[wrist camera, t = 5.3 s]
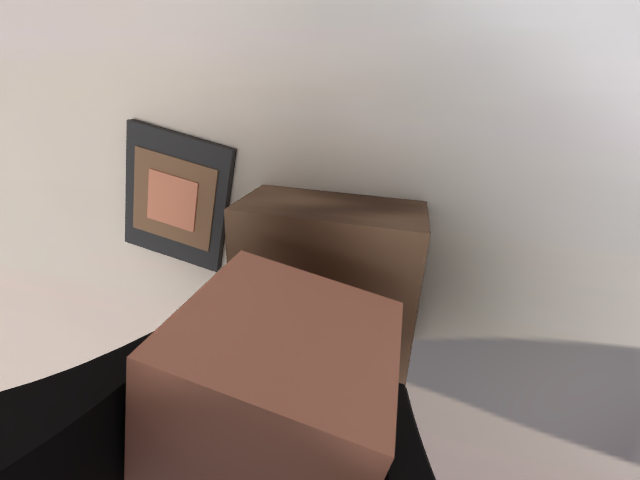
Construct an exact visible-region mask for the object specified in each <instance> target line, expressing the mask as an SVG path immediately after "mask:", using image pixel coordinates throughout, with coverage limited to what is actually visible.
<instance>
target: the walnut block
mask: <svg viewBox="0 0 640 480" xmlns="http://www.w3.org/2000/svg"><path fill="white" fill-rule="evenodd" d="M224 219H225V238H226V256H227V263H228V262H229V261H230V260H231V259H232V258H233V257H234V256H235V255H237V254H238V253H239V252H240V251H241V250H242V251H245V252H248V253H251V254H254V255H257V256H260V257H263V258H266V259H269V260H273V261H276V262H279V263H282V264H285V265H288V266H291V267H294V268H297V269H300V270H303V271H306V272H309V273H313V274H316V275H319V276H322V277H325V278H328V279H331V280H334V281H337V282H340V283H343V284H346V285H350V286H353V287H356V288H359V289H362V290H365V291H368V292H371V293H374V294H377V295H380V296H383V297H387V298H390V299H393V300H396V301H399V302H402V303H403V314H402V331H401V349H400V367H399V383H401V384H404V385H406V378H407V372H408V366H409V361H410V354H411V348H412V343H413V336H414V330H415V324H416V318H417V312H418V306H419V300H420V294H421V288H422V282H423V276H424V270H425V264H426V258H427V252H428V245H429V239H430V225H429V217H428V208H427V202H425V201H416V200H406V199H396V198H387V197H377V196H367V195H357V194H348V193H338V192H328V191H318V190H309V189H299V188H289V187H280V186H270V185H262V186H260V187H259V188H257V189H255V190H254V191H252V192H251V193H249V194H248V195H246V196H244V197H243V198H241V199H240V200H238V201H237V202H235V203H233V204H232V205H230V206H229V207H227V208H225V209H224Z"/></svg>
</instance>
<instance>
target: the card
mask: <svg viewBox="0 0 640 480" xmlns="http://www.w3.org/2000/svg"><path fill="white" fill-rule="evenodd" d="M235 156H236V149H234V148H231V147H227V146H224V145H220V144H217V143H214V142H210V141H207V140H203V139H200V138H196V137H193V136H189V135H186V134H182V133H179V132H176V131H172V130H169V129H165V128H162V127H158V126H155V125H151V124H148V123H144V122H141V121H137V120H134V119H130V120H127V141H126V211H125V242H128V243H131V244H134V245H137V246H140V247H143V248H146V249H149V250H152V251H155V252H158V253H161V254H164V255H167V256H170V257H173V258H176V259H179V260H182V261H185V262H188V263H191V264H194V265H197V266H200V267H203V268H206V269H209V270H212V271H215V272H217V271H218V270H219V269H220V267H221V260H222V252H223V245H224V238H225V219H224V209H225V208H227V207H229V201H230V193H231V186H232V179H233V171H234V164H235Z"/></svg>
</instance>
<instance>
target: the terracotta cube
mask: <svg viewBox="0 0 640 480" xmlns="http://www.w3.org/2000/svg"><path fill="white" fill-rule="evenodd" d="M402 314H403V303H402V302H399V301H396V300H393V299H390V298H387V297H383V296H380V295H377V294H374V293H371V292H368V291H365V290H362V289H359V288H356V287H353V286H350V285H346V284H343V283H340V282H337V281H334V280H331V279H328V278H325V277H322V276H319V275H316V274H313V273H309V272H306V271H303V270H300V269H297V268H294V267H291V266H288V265H285V264H282V263H279V262H276V261H273V260H269V259H266V258H263V257H260V256H257V255H254V254H251V253H248V252H245V251H242V250H241V251H240V252H239V253H238V254H237V255H235V256H234V257H233V258H232V259H231V260H230V261H229V262H228V263H227V264H226V265H225V266H224V267H223V268H222V269H220V270H219V271H218V272H217V273H216V274H215V275H214V276H213V277H212V278H211V279H210V280H209V281H208V282H207V283H206V284H204V285H203V286H202V287H201V288H200V289H199V290H198V291H197V292H196V293H195V294H194V295H193V296H192V297H191V298H189V299H188V300H187V301H186V302H185V303H184V304H183V305H182V306H181V307H180V308H179V309H178V310H177V311H176V312H174V313H173V314H172V315H171V316H170V317H169V318H168V319H167V320H166V321H165V322H164V323H163V324H162V325H161V326H160V327H158V328H157V329H156V330H155V331H154V332H153V333H152V334H151V335H150V336H149V337H148V338H147V339H146V340H145V341H143V342H142V343H141V344H140V345H139V346H138V347H137V348H136V349H135V350H134V351H133V352H132V353H131V354H130V355H128V356H127V363H126V414H125V465H124V480H384V479H385V477H386V475H387V472H388V470H389V468H390V466H391V464H392V462H393V460H394V456H395V438H396V420H397V403H398V385H399V367H400V349H401V331H402Z"/></svg>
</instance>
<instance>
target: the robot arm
mask: <svg viewBox="0 0 640 480" xmlns="http://www.w3.org/2000/svg"><path fill="white" fill-rule="evenodd" d="M153 332H154V331H153ZM153 332H151V333H149V334H147V335H145V336H143V337H141V338H139V339H137V340H135V341H133V342H131V343H129V344H127V345H125V346H123V347H120V348H118V349H116V350H114V351H111V352H109V353H107V354H104V355H102V356H100V357H98V358H95V359H93V360H91V361H89V362H86V363H84V364H81V365H79V366H76V367H73V368H71V369H68V370H66V371H63V372H60V373H57V374H54V375H52V376H49V377H46V378H43V379H40V380H37V381H34V382H31V383H28V384H25V385H21V386H18V387H15V388H11V389H8V390H4V391H1V392H0V480H124V465H125V414H126V363H127V356H128V355H130V354H131V353H132V352H133V351H134V350H135V349H136V348H137V347H138V346H139V345H140V344H141V343H142V342H143V341H145V340H146V339H147V338H148V337H149V336H150V335H151V334H152V333H153ZM384 480H436V479H435V476H434V474H433V471H432V468H431V466H430V463H429V460H428V457H427V455H426V452H425V449H424V446H423V443H422V440H421V437H420V434H419V431H418V428H417V425H416V421H415V418H414V415H413V411H412V408H411V404H410V400H409V396H408V392H407V389H406V387H405V385H404V384H401V383H399V385H398V403H397V420H396V438H395V456H394V460H393V462H392V464H391V466H390V468H389V470H388V472H387V475H386V477H385V479H384Z"/></svg>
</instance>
